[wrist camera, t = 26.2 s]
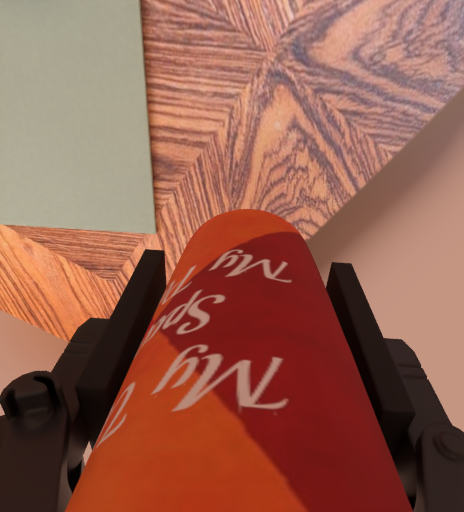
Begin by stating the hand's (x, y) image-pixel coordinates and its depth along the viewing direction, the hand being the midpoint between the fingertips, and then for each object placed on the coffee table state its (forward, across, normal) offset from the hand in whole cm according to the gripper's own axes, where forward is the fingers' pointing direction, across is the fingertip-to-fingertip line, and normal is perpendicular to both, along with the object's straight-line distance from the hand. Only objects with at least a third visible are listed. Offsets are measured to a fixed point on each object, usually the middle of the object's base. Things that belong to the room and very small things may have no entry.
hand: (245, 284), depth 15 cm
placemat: (+15, -14, +6) cm, 22 cm away
